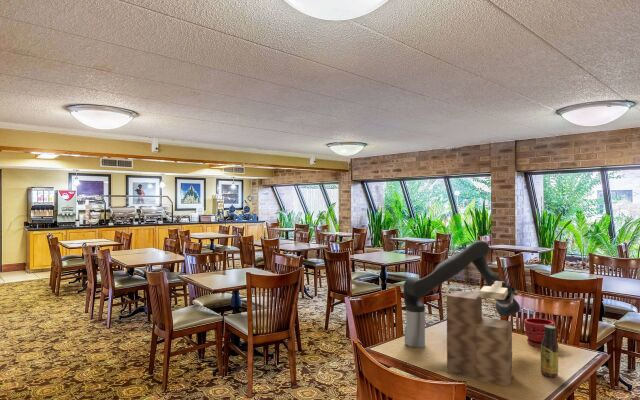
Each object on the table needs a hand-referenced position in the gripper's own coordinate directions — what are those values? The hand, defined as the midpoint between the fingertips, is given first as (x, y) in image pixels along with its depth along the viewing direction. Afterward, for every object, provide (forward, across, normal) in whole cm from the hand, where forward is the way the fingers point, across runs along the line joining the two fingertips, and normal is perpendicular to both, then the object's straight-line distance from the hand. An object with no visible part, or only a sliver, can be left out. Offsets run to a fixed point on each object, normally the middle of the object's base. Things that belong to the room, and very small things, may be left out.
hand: (497, 283), depth 165 cm
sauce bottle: (-22, +18, +29) cm, 41 cm away
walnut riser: (-9, -6, +36) cm, 38 cm away
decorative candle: (-50, -26, +14) cm, 58 cm away
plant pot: (-55, +12, +11) cm, 58 cm away
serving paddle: (+3, 0, +5) cm, 6 cm away
